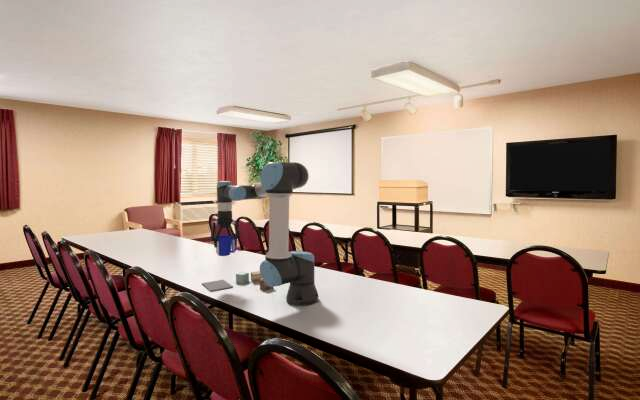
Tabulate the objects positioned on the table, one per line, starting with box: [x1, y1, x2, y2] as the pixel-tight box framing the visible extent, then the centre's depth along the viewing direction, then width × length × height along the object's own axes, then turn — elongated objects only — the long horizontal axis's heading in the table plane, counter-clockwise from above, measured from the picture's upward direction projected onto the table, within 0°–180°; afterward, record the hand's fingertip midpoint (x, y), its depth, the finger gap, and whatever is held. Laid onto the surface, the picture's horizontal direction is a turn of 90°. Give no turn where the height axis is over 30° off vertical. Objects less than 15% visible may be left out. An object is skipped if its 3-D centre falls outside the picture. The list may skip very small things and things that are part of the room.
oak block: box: [250, 270, 262, 284], centre depth 202 cm, size 5×5×5 cm
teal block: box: [235, 271, 250, 285], centre depth 201 cm, size 5×5×5 cm
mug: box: [217, 234, 238, 257], centre depth 192 cm, size 8×12×10 cm
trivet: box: [201, 279, 234, 293], centre depth 194 cm, size 16×12×1 cm
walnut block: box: [259, 279, 274, 291], centre depth 188 cm, size 5×5×5 cm
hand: (225, 252), depth 192 cm, fingers closed on mug, 8 cm apart
